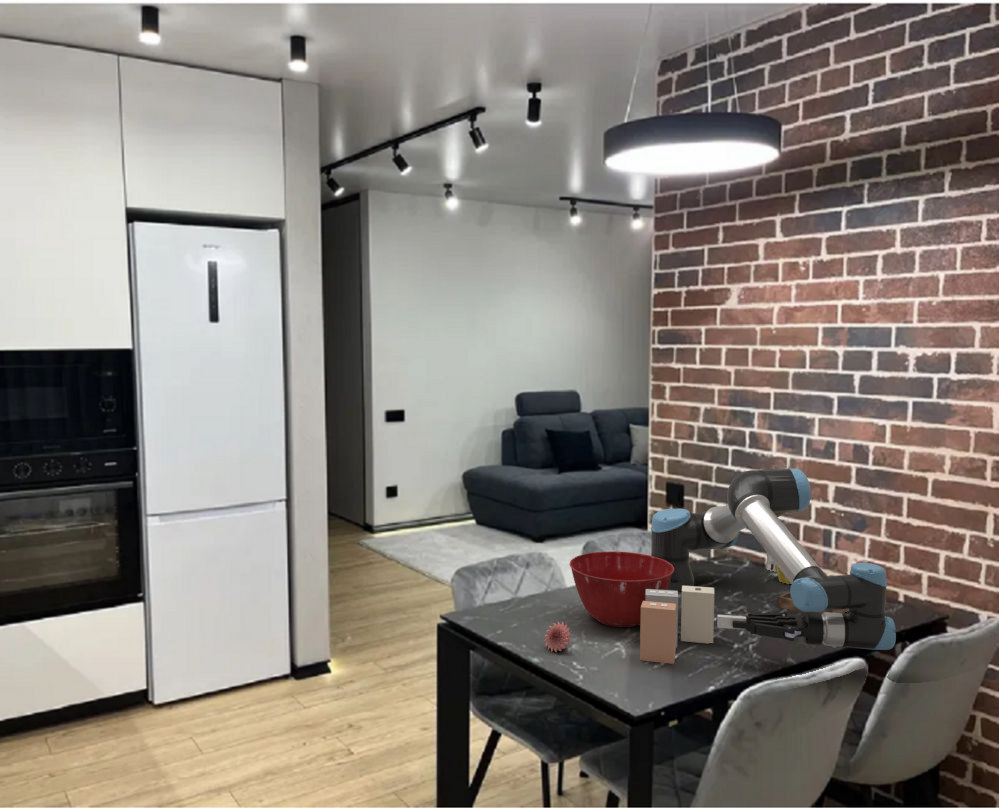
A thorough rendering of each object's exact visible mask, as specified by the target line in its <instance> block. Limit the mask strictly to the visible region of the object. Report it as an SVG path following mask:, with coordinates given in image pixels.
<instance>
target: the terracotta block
mask: <svg viewBox="0 0 999 808" xmlns="http://www.w3.org/2000/svg"><path fill="white" fill-rule="evenodd" d="M639 626H640V627H639V629H640V630H639V631H640V632H639V634H640V635H639V636H640V637H639V639H640V640H639V660H640V661H644V662H645V661H646V662H652V663H653V662H654V663H664V664H671V665H672V664H675V660H676V650H677V648H676V604H673V603H662V602H651V601H643V602H642V605H641V624H640V625H639Z"/></svg>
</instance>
